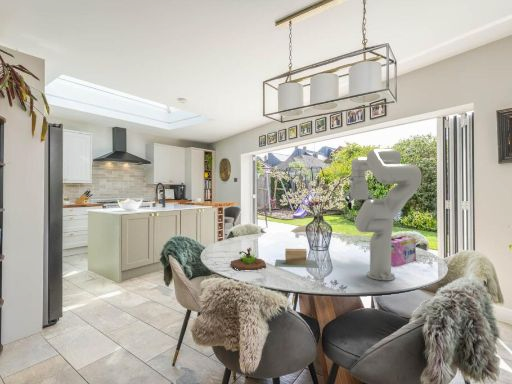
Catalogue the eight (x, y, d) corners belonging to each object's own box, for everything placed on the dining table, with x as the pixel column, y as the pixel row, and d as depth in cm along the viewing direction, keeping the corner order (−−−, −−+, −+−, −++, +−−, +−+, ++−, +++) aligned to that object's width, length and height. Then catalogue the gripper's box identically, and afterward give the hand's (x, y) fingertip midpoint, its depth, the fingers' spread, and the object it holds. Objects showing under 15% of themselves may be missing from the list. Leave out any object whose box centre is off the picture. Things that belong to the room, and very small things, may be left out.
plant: (236, 273, 143) (235, 252, 143) (227, 263, 161) (227, 245, 161) (271, 269, 149) (271, 249, 149) (259, 260, 168) (259, 242, 168)
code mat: (318, 268, 150) (318, 267, 150) (274, 266, 153) (274, 266, 153) (315, 260, 165) (315, 260, 165) (275, 259, 168) (275, 259, 168)
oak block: (306, 264, 156) (306, 250, 155) (285, 264, 157) (285, 250, 157) (306, 262, 160) (306, 249, 160) (285, 262, 162) (285, 248, 162)
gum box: (404, 257, 171) (404, 235, 171) (417, 260, 165) (417, 237, 165) (382, 263, 158) (382, 240, 158) (396, 266, 151) (396, 242, 151)
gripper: (345, 179, 155) (345, 210, 155) (376, 179, 155) (376, 209, 155) (341, 180, 162) (341, 208, 163) (370, 180, 162) (370, 208, 162)
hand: (358, 209), depth 159 cm, fingers open, 9 cm apart
